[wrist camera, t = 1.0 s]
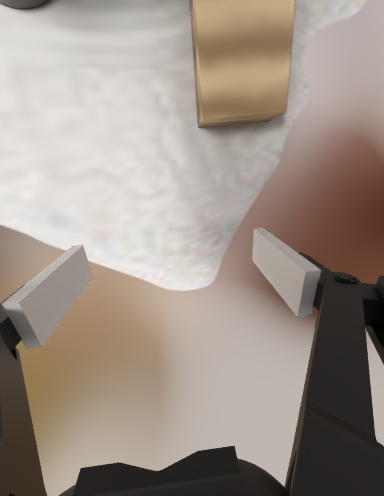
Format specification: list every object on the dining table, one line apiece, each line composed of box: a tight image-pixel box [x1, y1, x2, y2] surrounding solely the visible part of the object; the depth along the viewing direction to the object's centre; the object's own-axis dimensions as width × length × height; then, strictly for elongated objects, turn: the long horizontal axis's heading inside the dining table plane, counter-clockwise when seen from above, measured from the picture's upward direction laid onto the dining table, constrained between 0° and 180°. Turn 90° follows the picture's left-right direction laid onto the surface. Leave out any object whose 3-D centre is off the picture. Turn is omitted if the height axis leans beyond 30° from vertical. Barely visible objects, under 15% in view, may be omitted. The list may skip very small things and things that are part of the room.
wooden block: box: [190, 0, 295, 128], centre depth 28 cm, size 16×12×6 cm
